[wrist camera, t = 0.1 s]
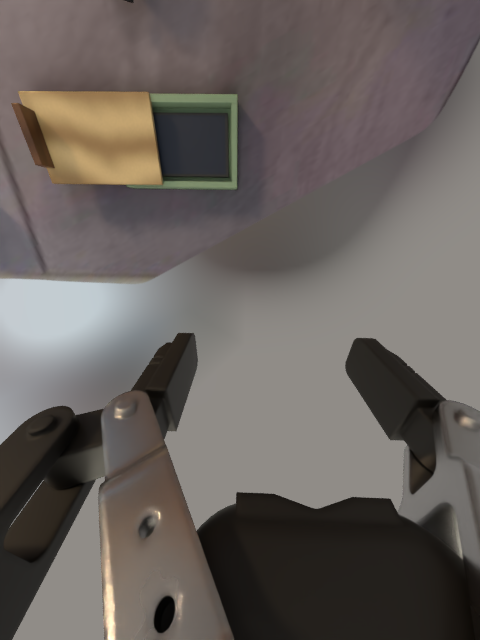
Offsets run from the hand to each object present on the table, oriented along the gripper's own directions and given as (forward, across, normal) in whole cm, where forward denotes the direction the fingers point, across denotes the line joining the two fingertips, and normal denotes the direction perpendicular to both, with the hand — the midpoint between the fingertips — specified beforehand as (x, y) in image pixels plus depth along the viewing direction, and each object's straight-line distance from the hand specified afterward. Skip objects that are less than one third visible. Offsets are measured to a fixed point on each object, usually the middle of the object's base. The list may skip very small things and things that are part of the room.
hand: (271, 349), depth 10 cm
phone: (+29, +12, -15) cm, 34 cm away
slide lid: (+27, +23, -15) cm, 38 cm away
